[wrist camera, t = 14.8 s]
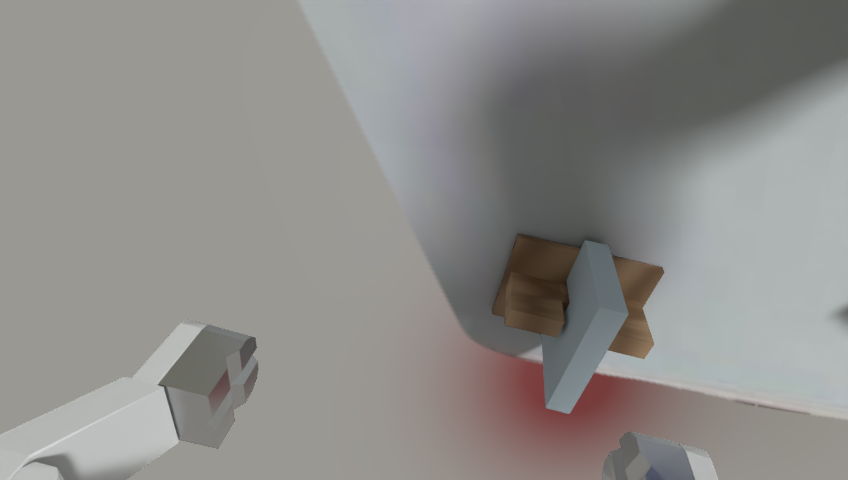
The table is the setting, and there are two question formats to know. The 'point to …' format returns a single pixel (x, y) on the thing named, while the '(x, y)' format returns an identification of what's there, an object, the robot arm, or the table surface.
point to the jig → (548, 294)
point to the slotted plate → (583, 327)
